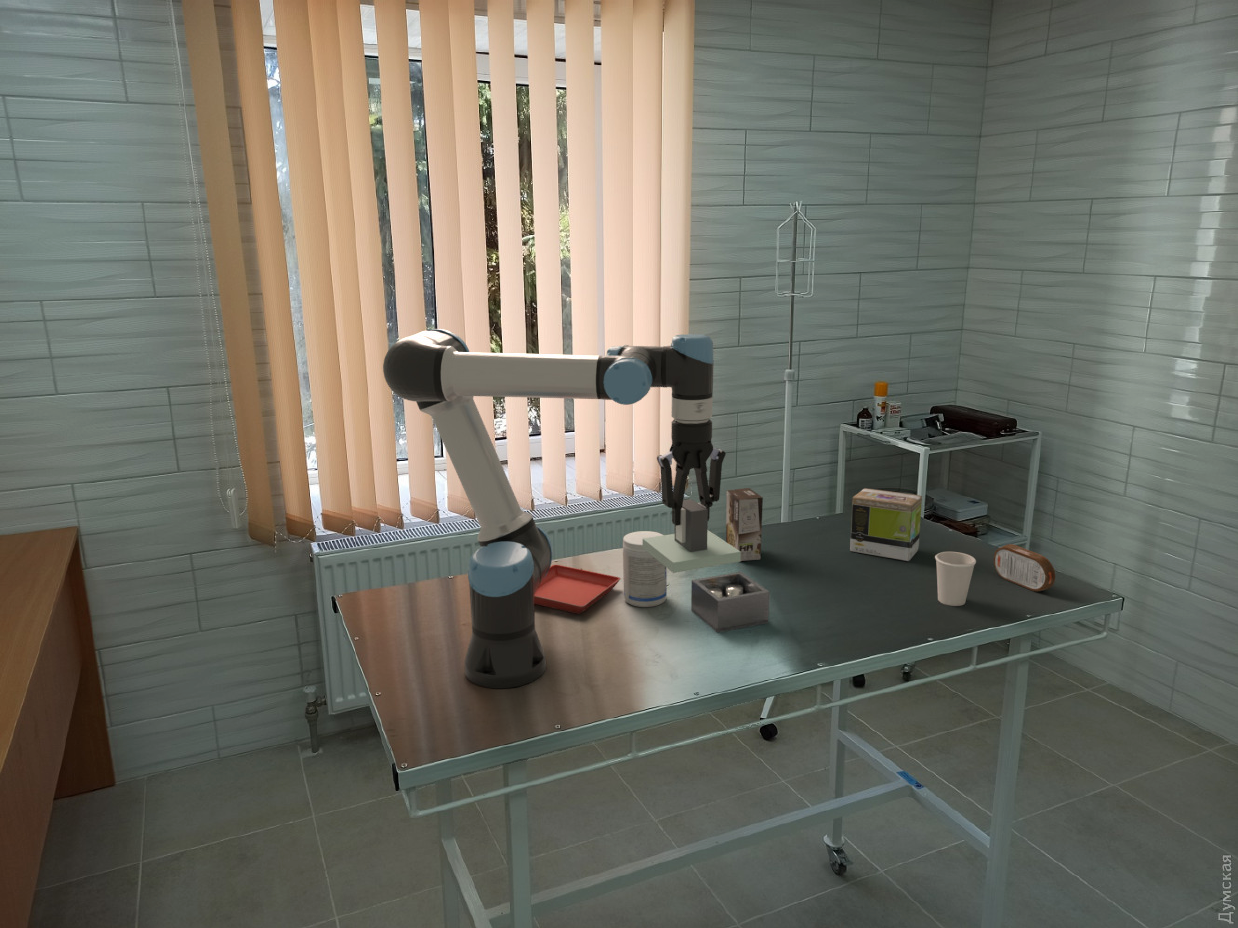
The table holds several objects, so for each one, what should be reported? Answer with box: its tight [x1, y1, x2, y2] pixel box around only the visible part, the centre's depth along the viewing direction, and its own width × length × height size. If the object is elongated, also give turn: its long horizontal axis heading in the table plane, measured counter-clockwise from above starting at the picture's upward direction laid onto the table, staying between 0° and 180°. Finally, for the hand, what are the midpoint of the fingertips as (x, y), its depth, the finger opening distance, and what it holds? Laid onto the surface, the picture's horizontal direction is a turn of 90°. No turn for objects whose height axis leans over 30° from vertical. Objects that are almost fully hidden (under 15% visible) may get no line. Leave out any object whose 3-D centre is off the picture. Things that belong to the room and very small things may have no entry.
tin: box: [993, 543, 1056, 592], centre depth 204 cm, size 15×3×8 cm, turn 27°
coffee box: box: [725, 487, 764, 562], centre depth 223 cm, size 9×6×16 cm
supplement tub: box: [622, 530, 668, 608], centre depth 197 cm, size 10×10×15 cm
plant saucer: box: [534, 564, 621, 614], centre depth 201 cm, size 18×18×3 cm
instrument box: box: [690, 571, 770, 634], centre depth 189 cm, size 12×12×7 cm
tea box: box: [849, 487, 923, 562], centre depth 225 cm, size 15×10×15 cm, turn 58°
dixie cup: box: [934, 551, 977, 607], centre depth 195 cm, size 8×8×10 cm
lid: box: [643, 498, 741, 574], centre depth 170 cm, size 14×14×10 cm
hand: (690, 538), depth 171 cm, fingers closed on lid, 3 cm apart
